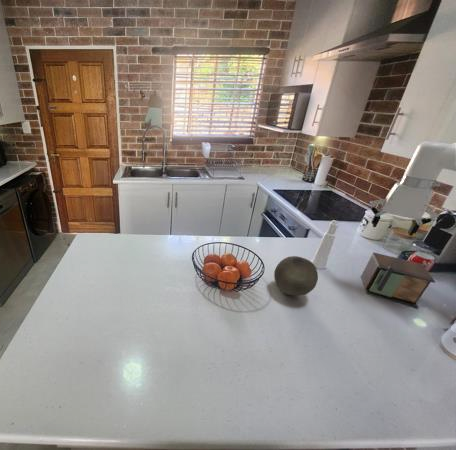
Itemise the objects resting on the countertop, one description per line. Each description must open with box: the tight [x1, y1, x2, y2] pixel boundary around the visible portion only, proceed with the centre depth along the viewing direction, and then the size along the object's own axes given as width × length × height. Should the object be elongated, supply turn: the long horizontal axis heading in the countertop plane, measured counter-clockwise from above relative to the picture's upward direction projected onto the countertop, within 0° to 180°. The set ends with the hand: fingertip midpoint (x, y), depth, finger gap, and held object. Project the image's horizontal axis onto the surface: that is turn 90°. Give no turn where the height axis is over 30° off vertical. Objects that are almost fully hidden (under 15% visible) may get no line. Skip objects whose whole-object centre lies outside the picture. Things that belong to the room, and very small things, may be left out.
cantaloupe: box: [273, 255, 319, 297], centre depth 90 cm, size 14×14×15 cm
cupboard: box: [360, 252, 436, 309], centre depth 94 cm, size 15×12×12 cm
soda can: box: [406, 251, 436, 273], centre depth 101 cm, size 7×7×12 cm
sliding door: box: [370, 266, 404, 297], centre depth 89 cm, size 6×4×13 cm, turn 61°
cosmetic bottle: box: [310, 219, 340, 270], centre depth 106 cm, size 6×6×22 cm
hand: (391, 229), depth 86 cm, fingers open, 9 cm apart
